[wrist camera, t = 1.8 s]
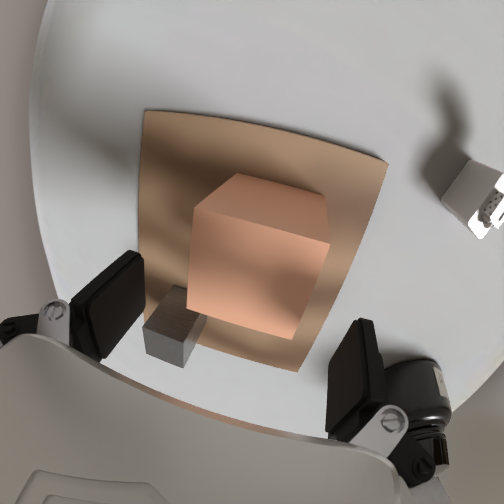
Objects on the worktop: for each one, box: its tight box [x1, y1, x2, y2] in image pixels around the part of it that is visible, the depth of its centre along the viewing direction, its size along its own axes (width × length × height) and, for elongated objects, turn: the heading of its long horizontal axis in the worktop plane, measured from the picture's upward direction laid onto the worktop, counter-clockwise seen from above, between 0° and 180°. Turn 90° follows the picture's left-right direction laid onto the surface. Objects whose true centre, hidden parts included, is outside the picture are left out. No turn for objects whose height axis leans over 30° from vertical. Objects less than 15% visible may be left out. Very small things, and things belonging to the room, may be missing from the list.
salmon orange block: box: [187, 173, 331, 340], centre depth 15 cm, size 6×6×7 cm
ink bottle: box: [384, 360, 452, 476], centre depth 19 cm, size 10×9×12 cm
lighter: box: [441, 159, 504, 239], centre depth 10 cm, size 7×2×8 cm, turn 149°
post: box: [142, 284, 207, 368], centre depth 20 cm, size 3×3×5 cm
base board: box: [138, 111, 389, 372], centre depth 20 cm, size 20×16×1 cm
